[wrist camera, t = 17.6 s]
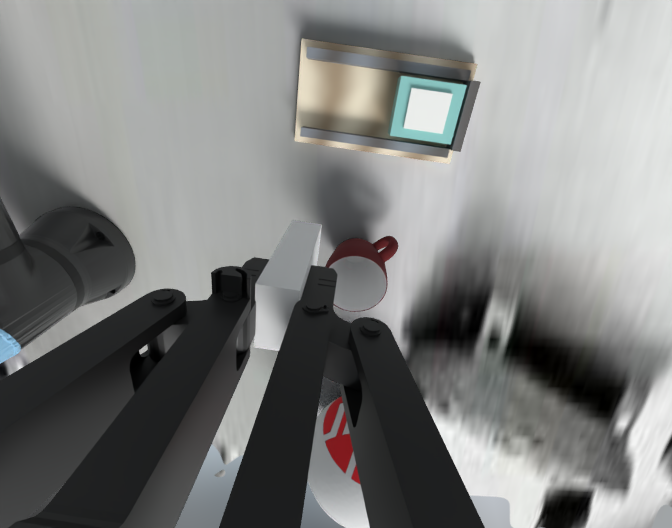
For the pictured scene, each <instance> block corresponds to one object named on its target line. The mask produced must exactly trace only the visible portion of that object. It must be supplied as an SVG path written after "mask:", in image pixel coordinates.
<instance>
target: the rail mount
mask: <svg viewBox="0 0 672 528" xmlns="http://www.w3.org/2000/svg"><path fill="white" fill-rule="evenodd" d="M476 68H477V64H474V63H467V62H460V61H453V60H446V59H440V58H433V57H426V56H419V55H412V54H405V53H398V52H391V51H384V50H378V49H371V48H364V47H357V46H350V45H343V44H336V43H329V42H322V41H316V40H309V39H302V40H301V55H300V70H299V84H298V99H297V113H296V128H295V141H297V142H304V143H311V144H318V145H324V146H331V147H338V148H345V149H352V150H358V151H365V152H372V153H379V154H385V155H392V156H399V157H406V158H413V159H419V160H426V161H433V162H440V163H447V164H450V161H451V157H452V154H453V151H459V152H460V151H461V148H462V144H463V141H464V137H465V134H466V130H467V127H468V123H469V120H470V117H471V113H472V110H473V106H474V103H475V99H476V96H477V92H478V89H479V85H480V82H479V81H473V78H474V75H475V71H476ZM400 76H407V77H414V78H421V79H427V80H434V81H441V82H448V83H455V84H462V85H467V87H466V90H465V94H464V98H463V101H462V105H461V109H460V112H459V116H458V119H457V123H456V127H455V130H454V134H453V138H452V141H451V145H450V144H443V143H437V142H430V141H423V140H416V139H409V138H403V137H396V136H390V135H389V134H388V129H389V124H390V118H391V113H392V108H393V103H394V97H395V92H396V87H397V81H398V78H399V77H400Z"/></svg>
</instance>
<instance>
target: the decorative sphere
mask: <svg viewBox="0 0 672 528" xmlns="http://www.w3.org/2000/svg"><path fill="white" fill-rule="evenodd" d="M308 481H309V484H310V487H311V490H312V492H313V494H314V496H315V498H316V500H317V502H318V503H319V505H320V506H321V507H322V508H323V510H324V511H325V512H326V513H327V514H328V515H329V516H330V517H331V518H332V519H333V520H335V521H336V522H337V523H339V524H340V525H342V526H344V527H347V528H370V526H369V521H368V517H367V512H366V508H365V503H364V498H363V494H362V489H361V484H360V480H359V475H358V470H357V466H356V461H355V457H354V452H353V447H352V443H351V438H350V433H349V429H348V424H347V419H346V415H345V410H344V406H343V401H342V396H341V397H339V398H337V399H336V400H334V401H332V402H331V403H330V404H329V405H328V406H326V407H325V408H324V409H323V411H322V412H321V413H320V414H319V416H318V417H317V419H316V425H315V432H314V439H313V446H312V452H311V459H310V466H309V472H308Z"/></svg>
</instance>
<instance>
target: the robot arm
mask: <svg viewBox="0 0 672 528" xmlns="http://www.w3.org/2000/svg"><path fill="white" fill-rule="evenodd" d="M321 227H322V224H316V223H310V222H303V221H296V220H293V221H292V222H291V224H290V226H289V227H288V229H287V231H286V233H285V234H284V236H283V238H282V239H281V241H280V243H279V244H278V246H277V248H276V250H275V251H274V253H273V255H272V256H271V258H270V260H268V259H262V258H255V257H254V258H252V259H250V260H248V261H247V262H245V264H244V265H243V266H242V268H241V267H237V266H227V267H221V268H218V269H216V270H214V271H213V272H211V277H212V295H211V296H210V297H209V298H208V300H202V301H186V296H185V294H184V293H183V292H181V291H179V290H175V289H160V290H156V291H153V292H150V293H148V294H146V295H144V296H143V297H141V298H139V299H138V300H136V301H134V302H133V303H131V304H129V305H128V306H126V307H124V308H122V309H121V310H119V311H117V312H116V313H114V314H112V315H111V316H109V317H107V318H106V319H104V320H102V321H101V322H99V323H97V324H95V325H94V326H92V327H90V328H89V329H87V330H85V331H84V332H82V333H80V334H79V335H77V336H75V337H73V338H72V339H70V340H68V341H67V342H65V343H63V344H62V345H60V346H58V347H57V348H55V349H53V350H52V351H50V352H48V353H46V354H45V355H43V356H41V357H40V358H38V359H36V360H35V361H33V362H31V363H30V364H28V365H26V366H25V367H23V368H21V369H19V370H18V371H16V372H14V373H13V374H11V375H9V376H8V377H6V378H4V379H3V380H1V381H0V528H175V526H176V524H177V521H178V519H179V517H180V515H181V512H182V510H183V508H184V505H185V503H186V501H187V499H188V496H189V494H190V492H191V489H192V487H193V485H194V483H195V480H196V478H197V476H198V474H199V471H200V469H201V467H202V464H203V462H204V460H205V457H206V455H207V453H208V451H209V448H210V446H211V444H212V442H213V439H214V437H215V435H216V432H217V430H218V428H219V426H220V423H221V421H222V419H223V416H224V414H225V412H226V410H227V407H228V405H229V403H230V400H231V398H232V396H233V394H234V391H235V389H236V387H237V384H238V382H239V380H240V378H241V375H242V373H243V371H244V369H245V366H246V364H247V362H248V359H249V357H250V344H251V342H252V340H253V338H254V347H256V348H262V349H269V350H275V351H279V352H278V355H277V358H276V361H275V364H274V367H273V370H272V373H271V376H270V379H269V382H268V385H267V388H266V391H265V394H264V397H263V400H262V403H261V406H260V408H259V411H258V414H257V417H256V420H255V423H254V426H253V429H252V432H251V435H250V438H249V441H248V444H247V447H246V450H245V453H244V456H243V459H242V462H241V465H240V467H239V471H238V473H237V476H236V479H235V482H234V485H233V488H232V491H231V494H230V497H229V500H228V503H227V506H226V509H225V512H224V515H223V517H222V521H221V523H220V526H219V528H300V526H301V520H302V513H303V506H304V499H305V493H306V486H307V479H308V472H309V466H310V459H311V452H312V446H313V439H314V432H315V425H316V419H317V412H318V405H319V398H320V392H321V385H322V378H323V376H324V377H326V378H328V379H330V380H333V381H335V382H337V383H339V384H340V392H341V396H342V401H343V406H344V410H345V415H346V419H347V424H348V429H349V433H350V438H351V443H352V447H353V452H354V457H355V461H356V466H357V470H358V475H359V480H360V484H361V489H362V494H363V498H364V503H365V508H366V512H367V517H368V521H369V526H370V528H485V527H484V525H483V523H482V521H481V519H480V517H479V515H478V513H477V511H476V508H475V506H474V504H473V502H472V500H471V499H470V496H469V494H468V492H467V490H466V488H465V485H464V483H463V481H462V479H461V477H460V475H459V473H458V471H457V469H456V467H455V464H454V462H453V460H452V458H451V456H450V454H449V452H448V450H447V448H446V446H445V444H444V441H443V439H442V437H441V435H440V433H439V431H438V429H437V427H436V425H435V423H434V420H433V418H432V416H431V414H430V412H429V410H428V408H427V406H426V404H425V402H424V400H423V397H422V395H421V393H420V391H419V389H418V387H417V385H416V383H415V381H414V379H413V376H412V374H411V372H410V370H409V368H408V366H407V364H406V362H405V360H404V358H403V356H402V353H401V351H400V349H399V347H398V345H397V343H396V341H395V339H394V337H393V335H392V332H391V330H390V329H389V328H388V326H387V325H386V324H385V323H383V322H382V321H380V320H377V319H374V318H368V317H364V318H358V319H356V320H354V321H353V322H352V324H351V323H349V322H346V321H344V320H342V319H341V318H339V317H338V316H337V315H336V314H335V312H334V310H333V303H334V297H335V290H336V283H337V276H338V275H337V273H336V271H335V270H334V268H327V267H321V266H317V262H318V253H319V245H320V236H321ZM134 273H135V258H134V254H133V251H132V249H131V247H130V245H129V243H128V241H127V240H126V238H125V237H124V235H123V234H122V233H121V232H120V231H119V230H118V228H117V227H115V226H114V225H113V224H112V223H111V222H110V221H108V220H107V219H105V218H104V217H102V216H100V215H99V214H97V213H95V212H92V211H90V210H87V209H83V208H78V207H63V208H59V209H56V210H53V211H51V212H48V213H45V214H43V215H42V216H40V217H39V218H37V219H36V220H35V221H34V222H33V224H32V225H30V226H29V227H28V228H27V229H26V230H25V231H23V232H22V233H21V234H20V235H19V234H18V232H17V230H16V228H15V226H14V224H13V222H12V220H11V218H10V216H9V214H8V212H7V210H6V208H5V206H4V204H3V202H2V199H1V197H0V364H1V363H2V362H4V361H5V360H7V359H9V358H10V357H12V356H15V355H16V354H18V353H19V352H20V350H21V349H23V348H24V347H25V346H27V345H28V344H29V343H31V342H32V341H33V340H35V339H36V338H37V337H39V336H40V335H41V334H43V333H44V332H46V331H47V330H48V329H50V328H51V327H52V326H54V325H55V324H56V323H58V322H59V321H60V320H62V319H63V318H65V317H66V316H67V315H69V314H70V313H71V312H73V311H74V310H75V309H77V308H78V307H81V306H84V305H87V304H90V303H93V302H97V301H100V300H103V299H106V298H109V297H111V296H113V295H115V294H117V293H118V292H120V291H121V290H122V289H123V288H125V287H126V286H127V285H128V284H129V283H130V282H131V280H132V278H133V276H134ZM146 344H147V346H148V350H147V351H146V352H144V353H143V354H141V355H140V354H139V350H140V349H141V348H142V347H144V346H145V345H146ZM65 482H66V483H65ZM64 483H65V484H64ZM63 484H64V485H63ZM62 485H63V486H62ZM61 486H62V488H61V489H60V490H59V492H58V493H57V494H56V495H55V497H54V498H53V499H52V501H51V502H50V503H49V504H48V505H47V506H46V508H45V509H44V510H43V511H42V512H40V513H39V514H38V515H36V516H35V517H32V518H28V517H30V516H31V515H32V514H33V513H34V512H35V511H36V510H37V509H38V508H39V507H40V506H41V505H42V504H43V503H44V502H45V501H46V500H48V498H50V497H51V496H52V495H53V494H54V493H55V492H56V491H57V490H58V489H59V488H60V487H61Z"/></svg>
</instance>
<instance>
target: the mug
mask: <svg viewBox="0 0 672 528" xmlns="http://www.w3.org/2000/svg"><path fill="white" fill-rule="evenodd" d="M386 246H387V247H386ZM384 247H386V248H385V249H383V250H382V251H381V252H379V253H378V250H379V249H381V248H384ZM397 249H398V242H397V240H396V239H395V238H394V237H392V236H386V237H383V238H381V239H380V240H378V241H376V242H375V243H373V244H372V243H370V242H368V241H366V240H363V239H359V238H353V239H348V240H346V241H344V242H342V243H341V244H340V245H339V246H338V247H337V248H336V249H335V251H334V252H333V254H332V255H331V257H330V258H329V260H328V262H327V264H326V266H325V267H327V268H334V270H335V271H336V273H337V275H338V276H337V283H336V290H335V297H334V303H333V304H334V305H335V306H337V307H338V308H340V309H343V310H346V311H352V312H359V311H365V310H368V309H370V308H372V307H374V306H376V305H377V304H378V303H379V302H380V301H381V300H382V299H383V297H384V296H385V293H386V290H387V273H386V268H385V262H386V261H387V260H389V259H390V258H391V257H392V256H393V255H394V254H395V253H396V251H397Z"/></svg>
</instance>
